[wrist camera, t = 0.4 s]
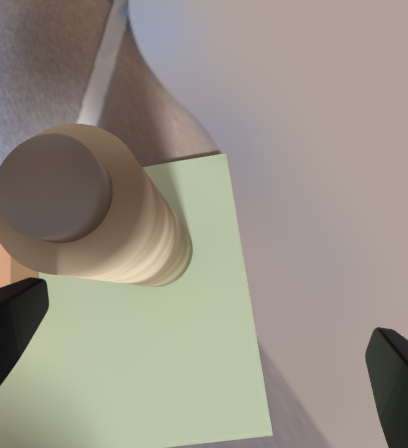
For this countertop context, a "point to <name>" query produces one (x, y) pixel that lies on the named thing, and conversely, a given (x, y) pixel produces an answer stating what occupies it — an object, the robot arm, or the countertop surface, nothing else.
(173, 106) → the countertop surface
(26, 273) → the octagonal ashtray
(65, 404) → the mat
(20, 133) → the countertop surface
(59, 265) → the pepper mill
